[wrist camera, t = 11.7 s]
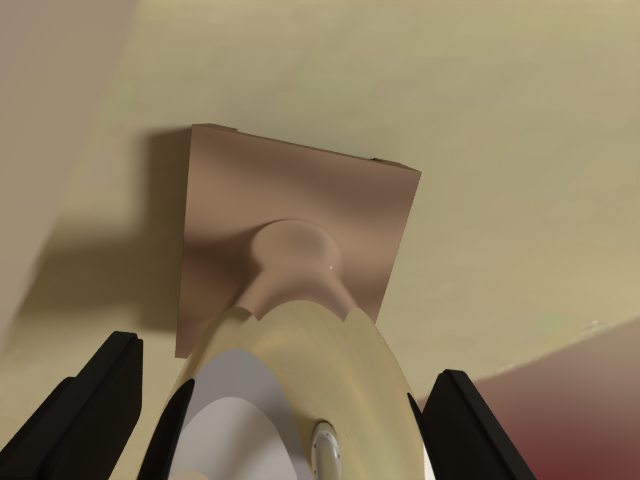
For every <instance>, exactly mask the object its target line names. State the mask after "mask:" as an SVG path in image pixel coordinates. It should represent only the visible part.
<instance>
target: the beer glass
mask: <svg viewBox="0 0 640 480" xmlns="http://www.w3.org/2000/svg"><path fill="white" fill-rule="evenodd" d="M344 275H345V268H344V260H343V256H342V253H341V250H340V248H339V246H338V245H337V243H336V242H335V240H334V239H333V238H332V237H331V236H330V235H329V234H328V233H327V232H326V231H324V230H323V229H322V228H320V227H318V226H316V225H314V224H312V223H309V222H305V221H300V220H282V221H277V222H274V223H271V224H268V225H266V226H264V227H263V228H261V229H259V230H258V231H257V232H255V233H254V234H253V235H252V236H251V237H250V238H249V239H248V240H247V242H246V243H245V245H244V246H243V248H242V250H241V253H240V256H239V260H238V265H237V280H238V286H237V288H236V290H235V291H234V292H233V294H232V295H231V296H230V298H229V299H228V300H227V302H226V303H225V304H224V306H223V307H222V308H221V309H220V311H219V312H218V313H217V315H216V316H215V318H214V319H213V320H212V322H211V323H210V324H209V326H208V327H207V328H206V330H205V331H204V333H203V335H202V336H201V338H200V339H199V341H198V342H197V344H196V346H195V347H194V349H193V350H192V352H191V354H190V355H189V357H188V358H187V360H186V362H185V363H184V365H183V367H182V369H181V372H180V374H179V376H178V378H177V380H176V382H175V384H174V386H173V388H172V390H171V392H170V394H169V396H168V398H167V400H166V402H165V404H164V407H163V409H162V411H161V414H160V416H159V419H158V421H157V424H156V426H155V429H154V431H153V434H152V436H151V439H150V441H149V444H148V446H147V449H146V451H145V454H144V456H143V459H142V462H141V464H140V467H139V470H138V473H137V476H136V478H135V480H447V479H446V477H445V474H444V471H443V468H442V465H441V463H440V460H439V457H438V454H437V452H436V449H435V446H434V443H433V441H432V438H431V436H430V433H429V431H428V428H427V426H426V423H425V421H424V418H423V416H422V413H421V411H420V409H419V406H418V404H417V401H416V399H415V396H414V394H413V392H412V390H411V388H410V386H409V384H408V382H407V380H406V378H405V376H404V374H403V372H402V370H401V367H400V365H399V363H398V361H397V359H396V357H395V356H394V354H393V352H392V350H391V349H390V347H389V346H388V344H387V343H386V341H385V340H384V338H383V336H382V335H381V333H380V332H379V330H378V329H377V327H376V326H375V324H374V323H373V321H372V320H371V319H370V317H369V316H368V315H367V313H366V312H365V311H364V310H363V308H362V307H361V306H360V304H359V303H358V302H357V300H356V299H355V298H354V297H353V295H352V294H351V293H350V292H349V290H348V289H347V288H346V286H345V285H344Z"/></svg>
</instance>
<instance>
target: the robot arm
mask: <svg viewBox="0 0 640 480" xmlns="http://www.w3.org/2000/svg"><path fill="white" fill-rule="evenodd" d="M142 375H143V340H142V339H138V337H137V334H136V333H129V332H120V331H114V332H113V333H112V334H111V335H110V336H109V337H108V338H107V340H106V341H105V342H104V343H103V345H102V346H101V347H100V348H99V349H98V351H97V352H96V353H95V354H94V356H93V357H92V358H91V359H90V360H89V362H88V363H87V364H86V365H85V366H84V368H83V369H82V370H81V371H80V373H79V374H78V375H77V376H76V377H67V378H65V379H64V380H63V381H62V382H60V383H59V384H58V386H57V387H56V388H55V389H54V390H53V391H52V393H51V394H50V395H49V396H48V397H47V398H46V400H45V401H44V402H43V403H42V404H41V405H40V406H39V408H38V409H37V410H36V411H35V412H34V413H33V415H32V416H31V417H30V418H29V419H28V420H27V422H26V423H25V424H24V425H23V426H22V427H21V428H20V430H19V431H18V432H17V433H16V434H15V435H14V437H13V438H12V439H11V440H10V441H9V442H8V444H7V445H6V446H5V447H4V448H3V449H2V451H1V452H0V480H108V479H109V477H110V475H111V473H112V471H113V469H114V467H115V465H116V463H117V461H118V459H119V457H120V455H121V453H122V451H123V449H124V447H125V445H126V443H127V441H128V439H129V437H130V435H131V433H132V431H133V429H134V427H135V425H136V423H137V421H138V419H139V416H140V413H141V409H142ZM422 416H423V418H424V421H425V423H426V426H427V428H428V431H429V433H430V436H431V438H432V441H433V443H434V446H435V449H436V452H437V454H438V457H439V460H440V463H441V465H442V468H443V471H444V474H445V477H446V479H447V480H537V479H536V478H535V476H534V475H533V473H532V472H531V470H530V469H529V467H528V466H527V464H526V463H525V461H524V460H523V458H522V457H521V455H520V454H519V452H518V451H517V449H516V448H515V446H514V445H513V443H512V442H511V440H510V439H509V437H508V436H507V434H506V433H505V431H504V430H503V428H502V427H501V425H500V424H499V422H498V421H497V419H496V418H495V416H494V415H493V413H492V412H491V410H490V409H489V407H488V406H487V404H486V403H485V401H484V400H483V398H482V397H481V395H480V394H479V392H478V391H477V389H476V388H475V386H474V385H473V383H472V382H471V380H470V379H469V377H468V376H467V374H466V373H465V372H463V371H459V370H450V369H445V370H444V371H443V373H440V374H439V375H438V377H437V379H436V382H435V384H434V386H433V389H432V391H431V393H430V396H429V398H428V400H427V403H426V405H425V408H424V410H423V412H422Z"/></svg>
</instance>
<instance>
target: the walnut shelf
mask: <svg viewBox="0 0 640 480" xmlns="http://www.w3.org/2000/svg"><path fill="white" fill-rule="evenodd" d="M421 173H422V172H420V171H417V170H415V169H412V168H410V167H407V166H405V165H402V164H400V163H396V162H392V161H387V160H382V159H377V158H375V160H370V159H365V158H361V157H356V156H351V155H346V154H342V153H337V152H332V151H327V150H322V149H318V148H313V147H308V146H303V145H299V144H294V143H289V142H284V141H279V140H275V139H270V138H265V137H260V136H255V135H251V134H246V133H241V132H238V129H235V128H230V127H225V126H220V125H216V124H192V131H191V145H190V158H189V172H188V186H187V200H186V213H185V227H184V241H183V254H182V268H181V282H180V295H179V309H178V323H177V336H176V350H175V358H185V359H187V358H188V357H189V355H190V354H191V352H192V350H193V349H194V347H195V346H196V344H197V342H198V341H199V339H200V338H201V336H202V335H203V333H204V331H205V330H206V328H207V327H208V326H209V324H210V323H211V322H212V320H213V319H214V318H215V316H216V315H217V313H218V312H219V311H220V309H221V308H222V307H223V306H224V304H225V303H226V302H227V300H228V299H229V298H230V296H231V295H232V294H233V292H234V291H235V290H236V288H237V286H238V280H237V265H238V260H239V256H240V253H241V250H242V248H243V246H244V245H245V243H246V242H247V240H248V239H249V238H250V237H251V236H252V235H253V234H254V233H255V232H257V231H258V230H259V229H261V228H263V227H264V226H266V225H268V224H271V223H274V222H277V221H282V220H300V221H305V222H309V223H312V224H314V225H316V226H318V227H320V228H322V229H323V230H324V231H326V232H327V233H328V234H329V235H330V236H331V237H332V238H333V239H334V240H335V242H336V243H337V245H338V246H339V248H340V250H341V253H342V256H343V260H344V268H345V275H344V285H345V286H346V288H347V289H348V290H349V292H350V293H351V294H352V295H353V297H354V298H355V299H356V300H357V302H358V303H359V304H360V306H361V307H362V308H363V310H364V311H365V312H366V313H367V315H368V316H369V317H370V319H371V320H372V321H373V323H374V324H375V323H376V320H377V317H378V313H379V310H380V307H381V304H382V300H383V297H384V294H385V291H386V287H387V284H388V281H389V278H390V274H391V271H392V268H393V265H394V261H395V258H396V255H397V252H398V248H399V245H400V242H401V238H402V235H403V232H404V229H405V225H406V222H407V219H408V216H409V212H410V209H411V206H412V203H413V199H414V196H415V193H416V190H417V186H418V183H419V180H420V177H421Z"/></svg>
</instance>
